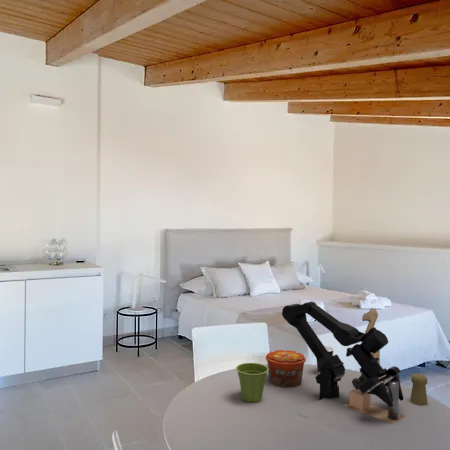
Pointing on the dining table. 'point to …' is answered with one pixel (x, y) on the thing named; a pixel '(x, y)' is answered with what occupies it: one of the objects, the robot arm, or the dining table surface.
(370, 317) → the bird sculpture
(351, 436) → the dining table surface
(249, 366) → the plant pot
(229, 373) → the dining table surface
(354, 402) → the cube
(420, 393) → the cork
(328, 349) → the dixie cup
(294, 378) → the food container
